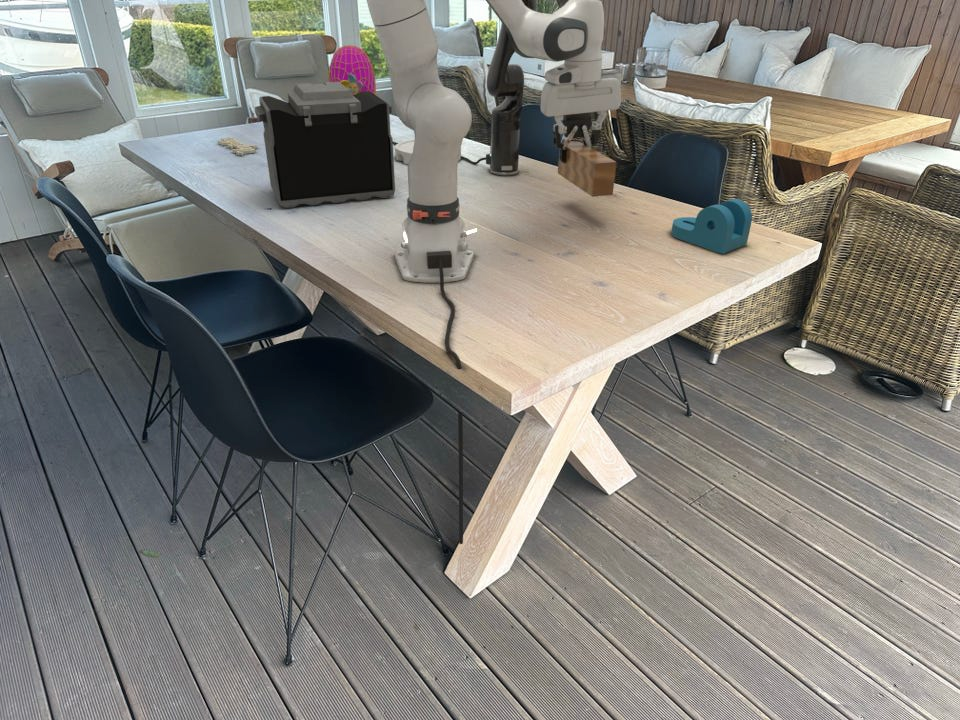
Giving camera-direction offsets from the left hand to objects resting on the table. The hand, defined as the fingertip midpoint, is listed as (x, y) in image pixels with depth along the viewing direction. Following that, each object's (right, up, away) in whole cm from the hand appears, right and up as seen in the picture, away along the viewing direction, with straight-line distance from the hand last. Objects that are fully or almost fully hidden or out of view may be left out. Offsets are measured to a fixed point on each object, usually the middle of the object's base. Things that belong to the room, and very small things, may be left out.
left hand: (579, 131), depth 171 cm
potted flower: (-71, +26, +91) cm, 119 cm away
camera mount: (+33, -26, +6) cm, 42 cm away
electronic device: (-69, -7, +36) cm, 78 cm away
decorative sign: (-114, +22, +84) cm, 143 cm away
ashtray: (-43, +15, +73) cm, 86 cm away
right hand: (+1, -1, +21) cm, 21 cm away
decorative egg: (-78, +45, +123) cm, 152 cm away
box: (+4, -8, +18) cm, 20 cm away
